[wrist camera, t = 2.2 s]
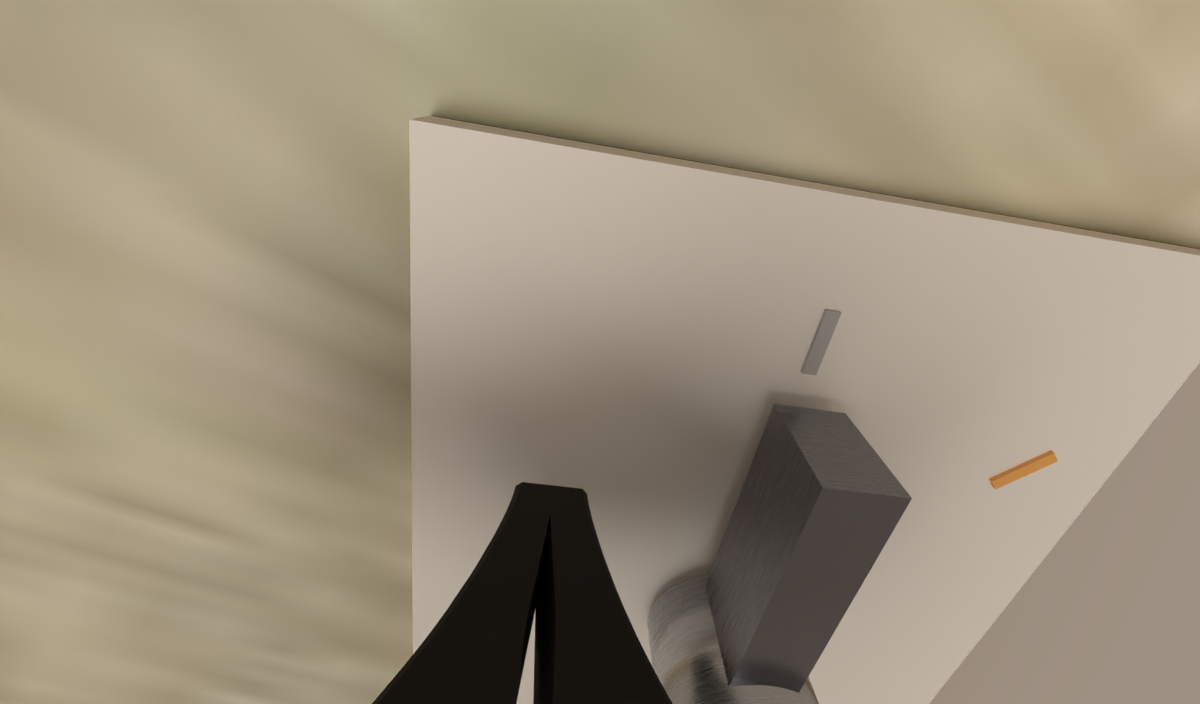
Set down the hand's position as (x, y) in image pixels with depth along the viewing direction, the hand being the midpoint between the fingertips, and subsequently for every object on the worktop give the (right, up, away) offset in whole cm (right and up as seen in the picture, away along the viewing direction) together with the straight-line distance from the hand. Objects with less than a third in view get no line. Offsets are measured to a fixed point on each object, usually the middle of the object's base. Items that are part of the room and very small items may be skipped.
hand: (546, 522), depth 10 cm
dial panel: (+4, -1, +4) cm, 6 cm away
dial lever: (+5, -1, +2) cm, 5 cm away
